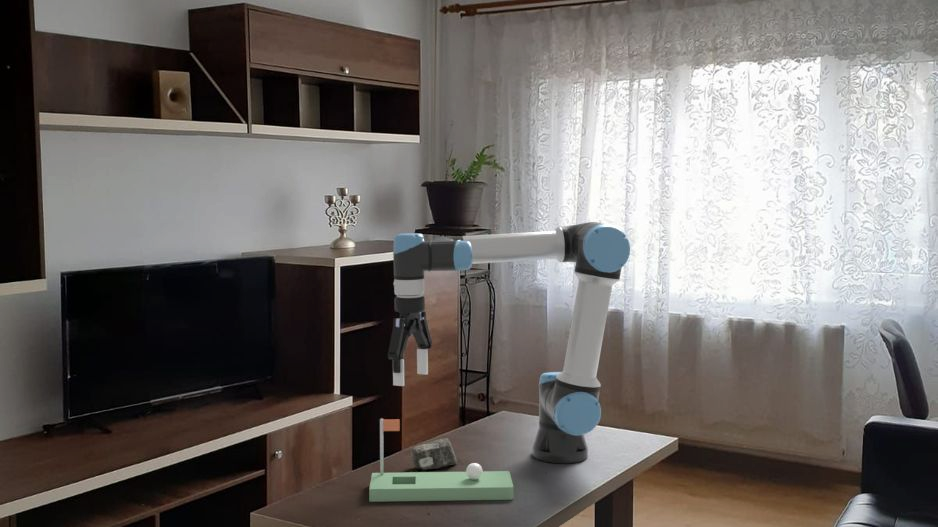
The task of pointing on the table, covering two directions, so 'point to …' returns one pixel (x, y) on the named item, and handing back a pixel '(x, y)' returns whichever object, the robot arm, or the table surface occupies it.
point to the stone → (434, 455)
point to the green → (435, 482)
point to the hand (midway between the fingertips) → (411, 379)
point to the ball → (474, 471)
